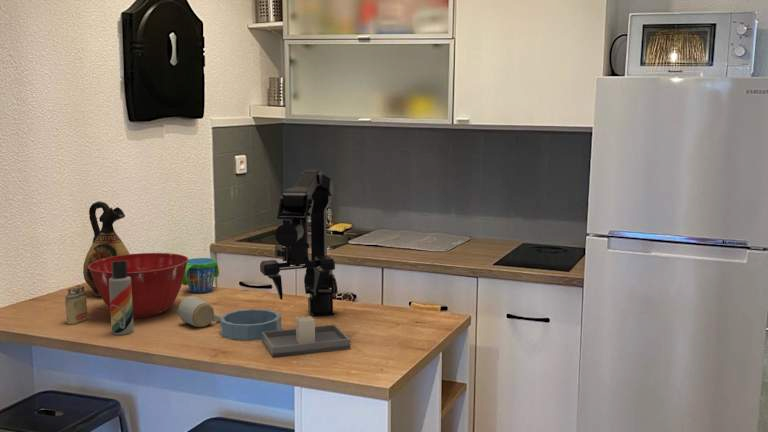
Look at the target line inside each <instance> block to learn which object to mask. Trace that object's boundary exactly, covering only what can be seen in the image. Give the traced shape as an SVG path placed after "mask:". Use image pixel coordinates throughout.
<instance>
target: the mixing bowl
mask: <svg viewBox="0 0 768 432" xmlns="http://www.w3.org/2000/svg"><path fill="white" fill-rule="evenodd" d="M188 259H189V258H188V256H186V255H182V254H177V253H170V252H169V253H168V252H141V253H129V254H128V255H120V256H113V257H108V258H104V259H100V260H97V261H94V262H92V263H90V264H89V265H88V268H89V269H90V272H91V275H92V278H93V280H94V283H95V285H96V288H97V290H98V292H99V294H100V295H101V297H100V298H101V299H102V301H103V302H104V305H106V307H107V308H108V309H109V310H110V291H109V279H110V278H112V262H118V261H126V262H127V276H129V277H131V287H132V307H133V319H134V318H135V319H138V318H139V319H141V318H149V317H153V316H157V315H160V314H163V313H164V312H165V311H166V310H168V309H169V308H170V307H171V306H172V305H174V303H175V301H176V299H177V297H178V295H179V293H180V290H181V287H182V285H183V284H182V282H183V278H184V274H185V270H186V265H187V261H188Z"/></svg>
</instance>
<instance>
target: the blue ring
mask: <svg viewBox="0 0 768 432" xmlns="http://www.w3.org/2000/svg"><path fill="white" fill-rule="evenodd" d="M277 330H282V315H281V314H280V312H278V311H274V310H270V309H261V308H258V309H257V308H251V309H239V310H238V309H237V310H233V311H230V312H227V313H224V314H223V315H221V316H220V319H219V331H220V334H221V336H222V337H224V338H227V339H230V340H233V341H234V340H235V341H236V340H238V341H239V340H240V341H254V340H262V334H261V332H267V331H277Z"/></svg>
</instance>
